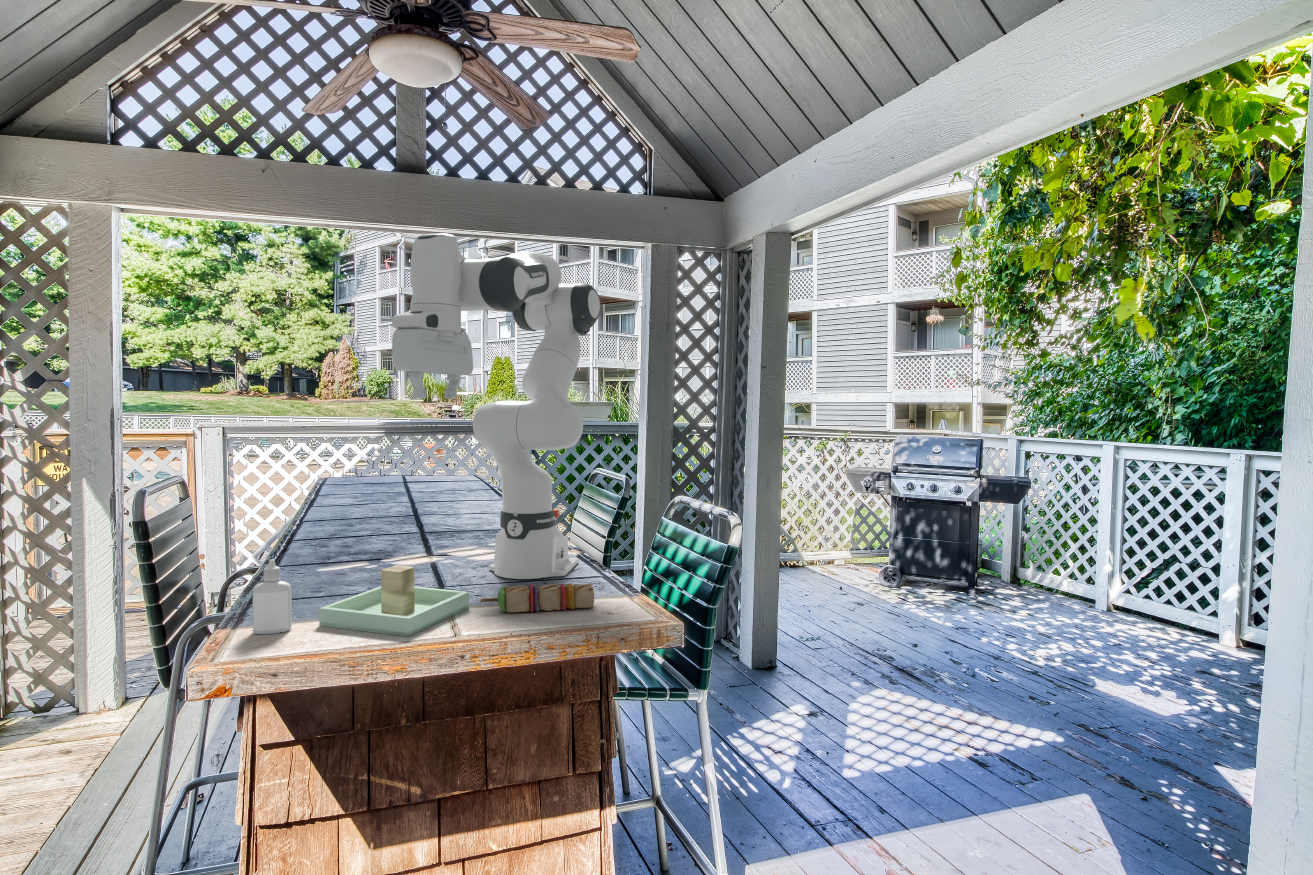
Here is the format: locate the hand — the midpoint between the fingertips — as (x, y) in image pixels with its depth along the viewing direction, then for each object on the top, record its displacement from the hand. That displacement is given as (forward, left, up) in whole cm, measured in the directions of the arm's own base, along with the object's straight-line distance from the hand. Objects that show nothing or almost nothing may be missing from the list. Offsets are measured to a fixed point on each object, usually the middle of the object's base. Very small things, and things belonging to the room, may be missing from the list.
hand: (435, 398), depth 132 cm
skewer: (-7, +18, -40) cm, 44 cm away
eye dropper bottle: (+20, -18, -39) cm, 48 cm away
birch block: (+6, -4, -38) cm, 39 cm away
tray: (+6, -4, -39) cm, 40 cm away
